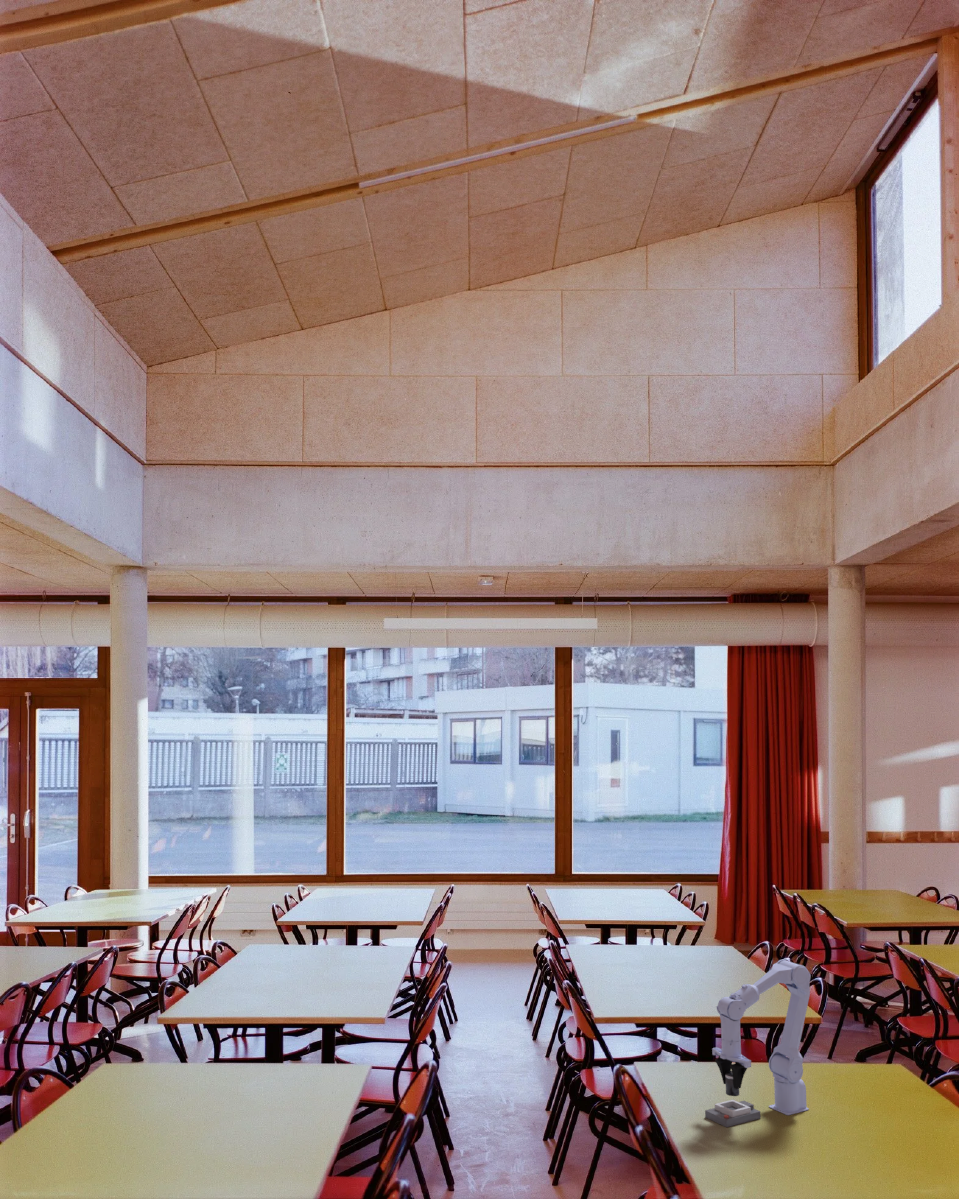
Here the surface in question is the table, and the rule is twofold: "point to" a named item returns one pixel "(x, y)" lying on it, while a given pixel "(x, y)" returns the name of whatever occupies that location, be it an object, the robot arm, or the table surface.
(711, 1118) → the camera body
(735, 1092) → the lens
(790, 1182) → the table surface
